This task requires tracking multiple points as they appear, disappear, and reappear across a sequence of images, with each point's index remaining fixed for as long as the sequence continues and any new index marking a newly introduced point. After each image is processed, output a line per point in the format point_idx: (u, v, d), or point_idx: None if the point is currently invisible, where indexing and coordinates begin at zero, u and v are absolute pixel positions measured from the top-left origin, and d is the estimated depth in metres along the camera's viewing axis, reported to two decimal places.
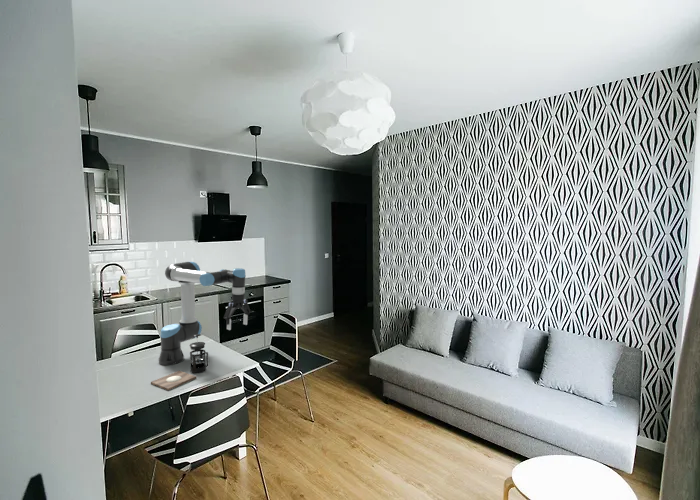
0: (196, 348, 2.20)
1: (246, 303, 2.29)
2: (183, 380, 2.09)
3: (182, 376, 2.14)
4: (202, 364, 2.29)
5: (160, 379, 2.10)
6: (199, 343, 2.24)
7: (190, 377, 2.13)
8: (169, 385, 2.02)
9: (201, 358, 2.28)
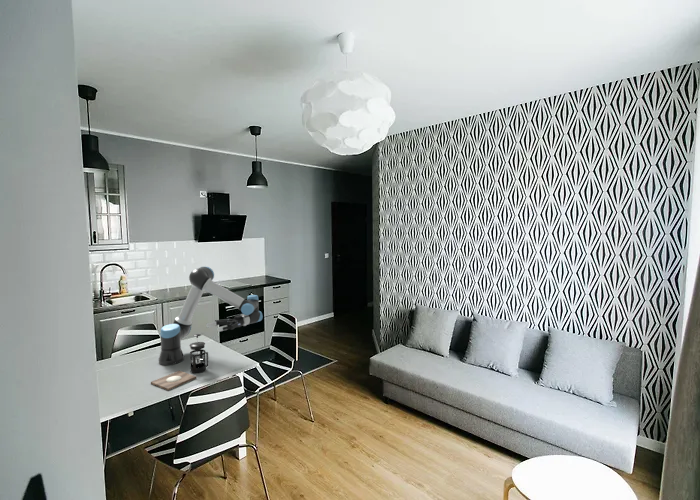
0: (196, 348, 2.20)
1: (227, 322, 2.45)
2: (183, 380, 2.09)
3: (182, 376, 2.14)
4: (202, 364, 2.29)
5: (160, 379, 2.10)
6: (199, 343, 2.24)
7: (190, 377, 2.13)
8: (169, 385, 2.02)
9: (201, 358, 2.28)
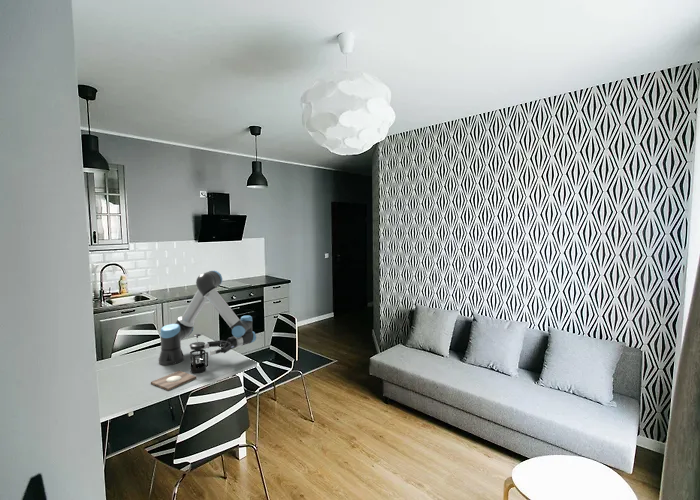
0: (196, 348, 2.20)
1: None
2: (183, 380, 2.09)
3: (182, 376, 2.14)
4: (202, 364, 2.29)
5: (160, 379, 2.10)
6: (199, 343, 2.24)
7: (190, 377, 2.13)
8: (169, 385, 2.02)
9: (201, 358, 2.28)
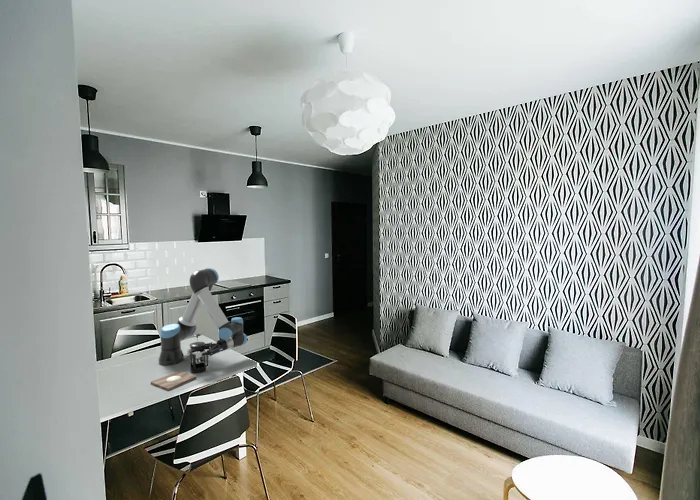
0: (196, 348, 2.20)
1: None
2: (183, 380, 2.09)
3: (182, 376, 2.14)
4: (202, 364, 2.29)
5: (160, 379, 2.10)
6: (199, 343, 2.24)
7: (190, 377, 2.13)
8: (169, 385, 2.02)
9: (201, 358, 2.28)
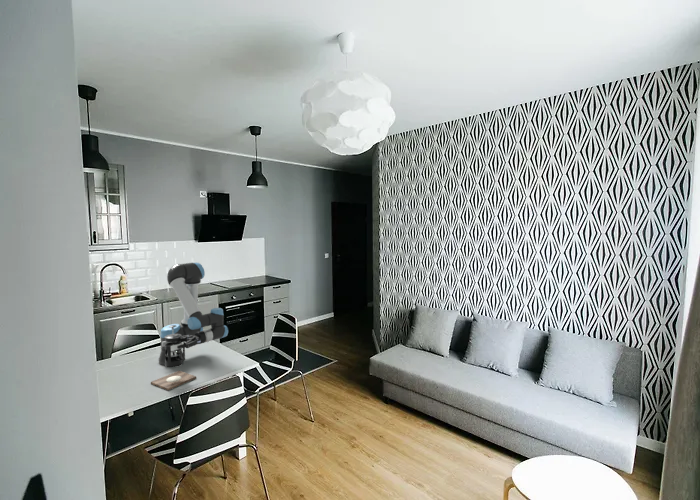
0: (171, 340, 2.05)
1: (186, 339, 2.21)
2: (183, 380, 2.09)
3: (182, 376, 2.14)
4: (178, 357, 2.14)
5: (160, 379, 2.10)
6: (175, 335, 2.09)
7: (190, 377, 2.13)
8: (169, 385, 2.02)
9: (177, 351, 2.13)
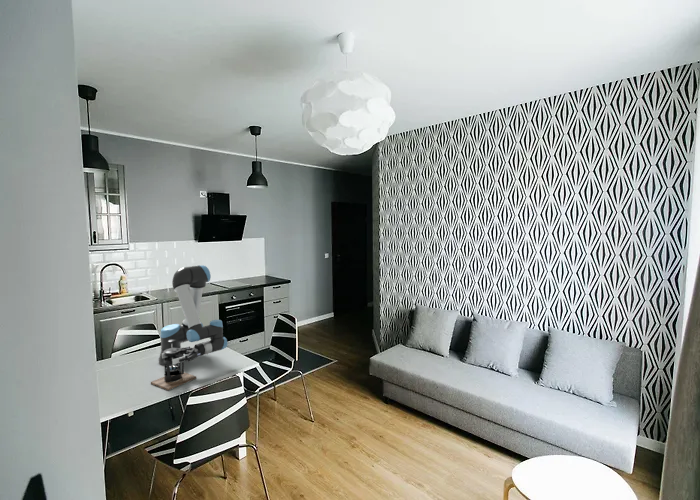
0: (170, 355, 2.05)
1: None
2: (183, 380, 2.09)
3: (182, 376, 2.14)
4: (178, 371, 2.15)
5: (160, 379, 2.10)
6: (174, 349, 2.10)
7: (190, 377, 2.13)
8: (169, 385, 2.02)
9: (176, 365, 2.13)
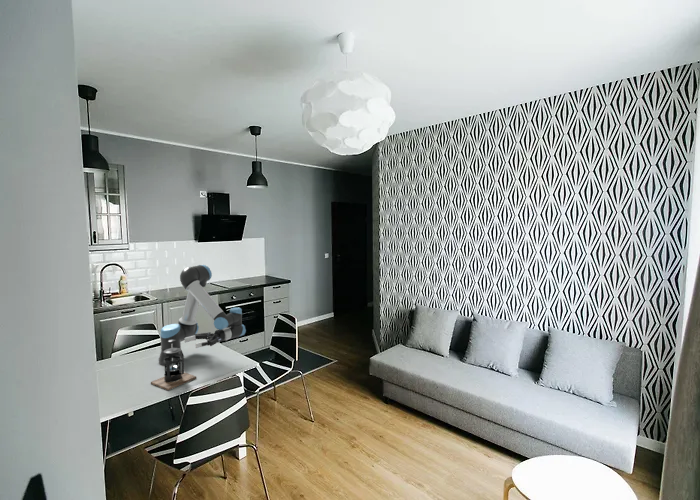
0: (170, 355, 2.05)
1: None
2: (183, 380, 2.09)
3: (182, 376, 2.14)
4: (178, 371, 2.15)
5: (160, 379, 2.10)
6: (174, 349, 2.10)
7: (190, 377, 2.13)
8: (169, 385, 2.02)
9: (176, 365, 2.13)
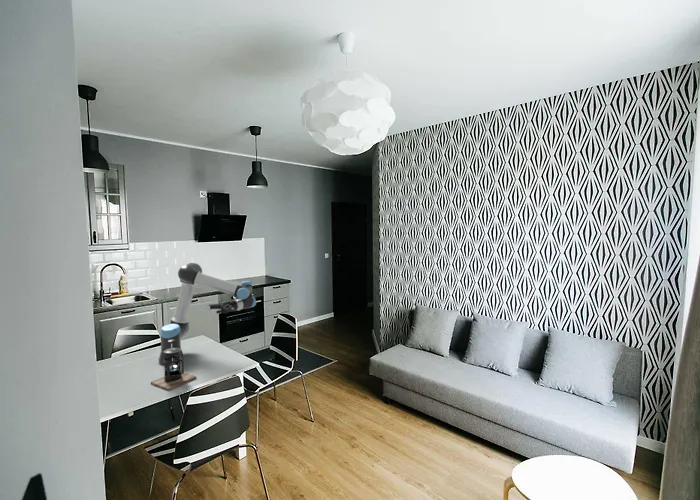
0: (170, 355, 2.05)
1: None
2: (183, 380, 2.09)
3: (182, 376, 2.14)
4: (178, 371, 2.15)
5: (160, 379, 2.10)
6: (174, 349, 2.10)
7: (190, 377, 2.13)
8: (169, 385, 2.02)
9: (176, 365, 2.13)
